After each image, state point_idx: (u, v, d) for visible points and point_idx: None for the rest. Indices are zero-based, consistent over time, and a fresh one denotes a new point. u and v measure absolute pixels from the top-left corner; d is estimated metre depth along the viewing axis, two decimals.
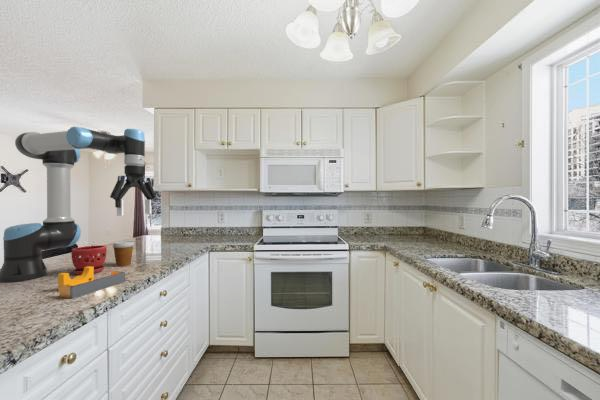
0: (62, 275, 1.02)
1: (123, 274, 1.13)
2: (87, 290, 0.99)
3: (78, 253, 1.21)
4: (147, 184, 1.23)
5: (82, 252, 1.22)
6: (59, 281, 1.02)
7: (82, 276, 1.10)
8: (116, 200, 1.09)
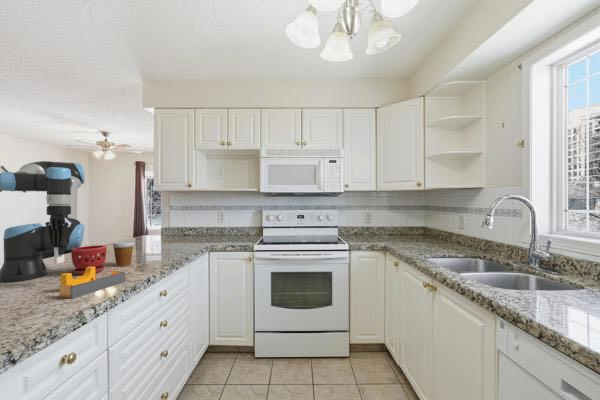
0: (65, 275, 1.02)
1: (123, 274, 1.13)
2: (87, 290, 0.99)
3: (78, 253, 1.21)
4: None
5: (82, 252, 1.22)
6: (62, 281, 1.02)
7: (84, 276, 1.10)
8: None
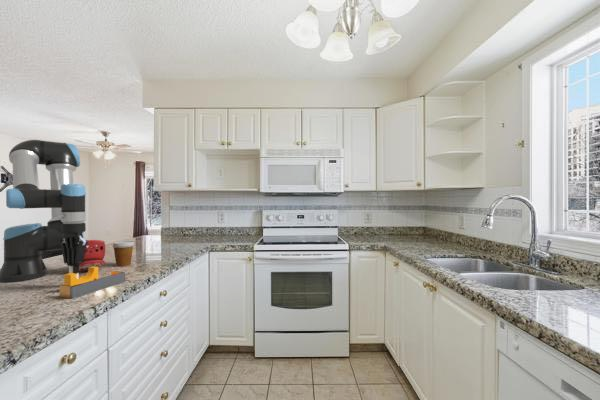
0: (69, 275, 1.01)
1: (123, 274, 1.13)
2: (87, 290, 0.99)
3: None
4: None
5: None
6: (65, 281, 1.02)
7: (87, 276, 1.10)
8: None
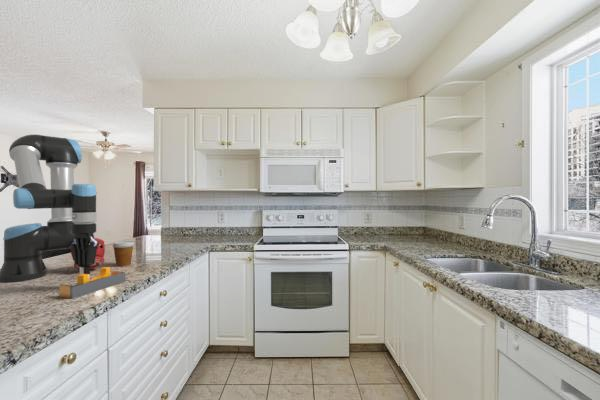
0: (82, 276, 1.01)
1: (123, 274, 1.13)
2: (87, 290, 0.99)
3: None
4: None
5: None
6: (78, 282, 1.01)
7: (99, 277, 1.09)
8: None
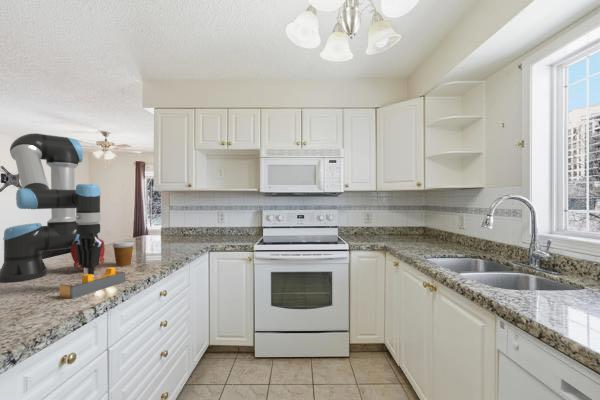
0: (86, 276, 1.00)
1: (123, 274, 1.13)
2: (87, 290, 0.99)
3: None
4: None
5: None
6: (83, 282, 1.01)
7: None
8: None
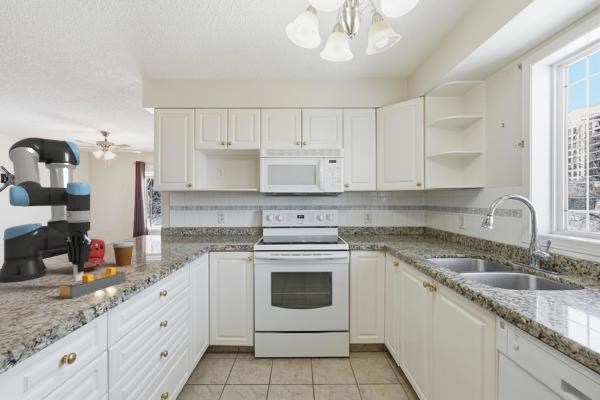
0: (86, 276, 1.00)
1: (123, 274, 1.13)
2: (87, 290, 0.99)
3: None
4: None
5: None
6: (83, 282, 1.01)
7: None
8: None
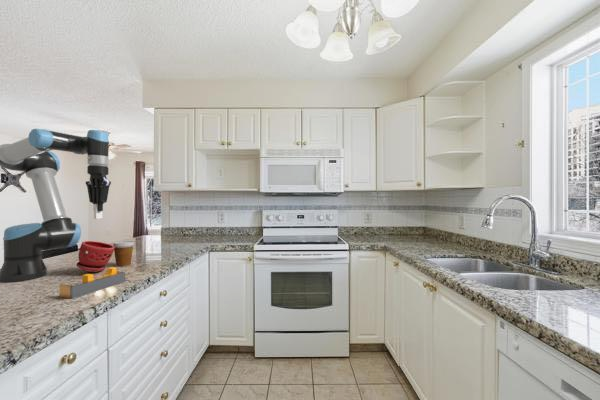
0: (86, 276, 1.00)
1: (123, 274, 1.13)
2: (87, 290, 0.99)
3: (86, 249, 1.22)
4: None
5: (90, 249, 1.23)
6: (83, 282, 1.01)
7: None
8: None
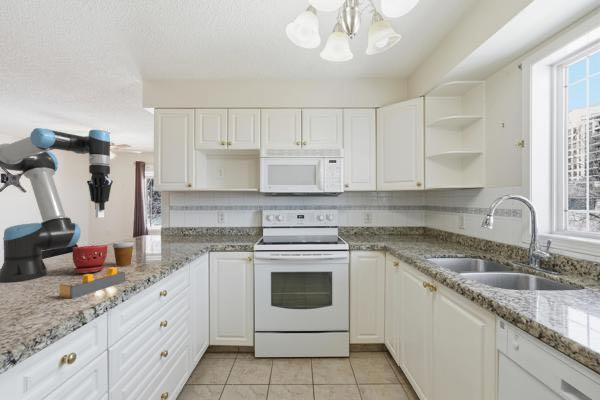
0: (86, 276, 1.00)
1: (123, 274, 1.13)
2: (87, 290, 0.99)
3: (75, 251, 1.23)
4: None
5: (79, 250, 1.22)
6: (83, 282, 1.01)
7: None
8: None
